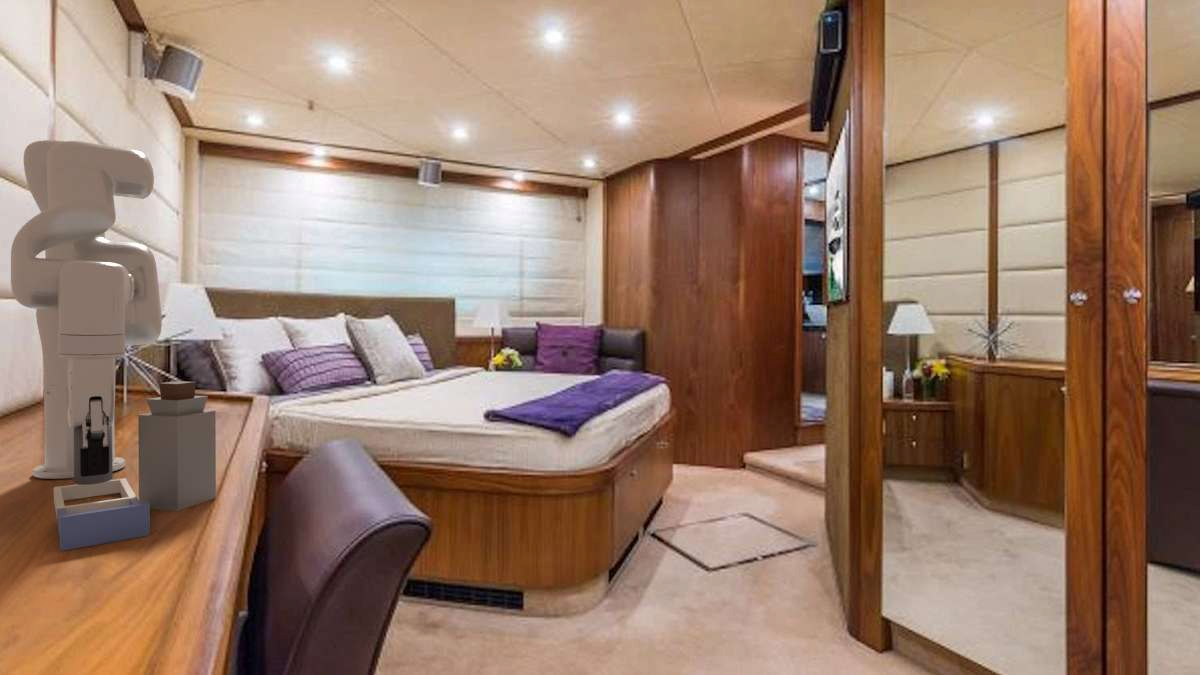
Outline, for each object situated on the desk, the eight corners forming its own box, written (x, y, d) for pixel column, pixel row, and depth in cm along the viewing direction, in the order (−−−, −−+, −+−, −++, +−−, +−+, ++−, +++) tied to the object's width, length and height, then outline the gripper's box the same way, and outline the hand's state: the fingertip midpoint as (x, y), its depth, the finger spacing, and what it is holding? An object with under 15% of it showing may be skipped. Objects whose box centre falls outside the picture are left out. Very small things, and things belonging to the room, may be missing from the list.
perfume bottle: (177, 510, 90) (177, 385, 90) (139, 507, 92) (138, 384, 91) (215, 497, 97) (215, 381, 96) (179, 494, 98) (178, 379, 98)
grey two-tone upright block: (73, 479, 92) (72, 425, 92) (111, 474, 95) (110, 422, 95) (74, 486, 89) (74, 430, 89) (114, 481, 92) (113, 427, 92)
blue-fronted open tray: (53, 500, 94) (53, 474, 94) (125, 490, 100) (125, 465, 100) (61, 551, 74) (60, 517, 74) (149, 535, 80) (149, 504, 80)
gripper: (56, 342, 95) (57, 462, 96) (61, 352, 83) (62, 489, 84) (118, 342, 100) (119, 455, 101) (132, 350, 88) (132, 480, 89)
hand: (93, 469), depth 92 cm, fingers closed on grey two-tone upright block, 4 cm apart
